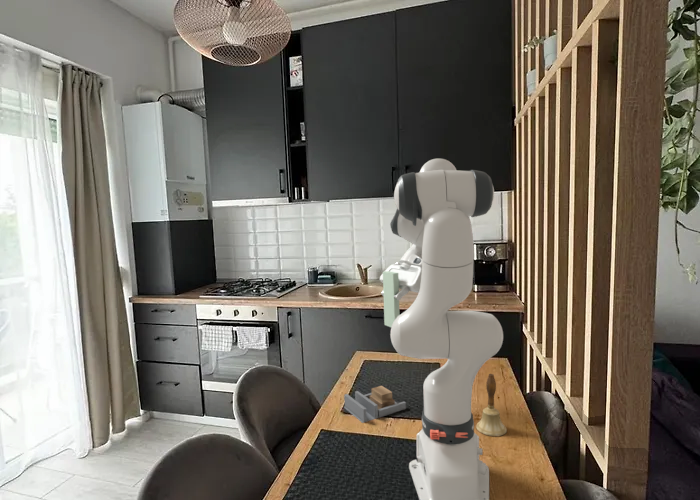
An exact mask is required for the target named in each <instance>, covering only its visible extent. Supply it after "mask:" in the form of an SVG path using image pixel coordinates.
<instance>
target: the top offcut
mask: <svg viewBox="0 0 700 500" xmlns="http://www.w3.org/2000/svg"><path fill="white" fill-rule="evenodd" d="M370 389H371V393H372V397H374V398H375V399H377V400H378V401H380V402H381V403H384V402H387V401H390V400H392V399H393V392H392V391H391V390H389V389H388V388H386V387H384V386H383V385H379V386H376V387H372V388H370Z"/></svg>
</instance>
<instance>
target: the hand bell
mask: <svg viewBox="0 0 700 500" xmlns="http://www.w3.org/2000/svg"><path fill="white" fill-rule="evenodd" d="M485 387H486V391H487V392H486V393H487V399H488V400H487V407H484V408H483V409H482V415H481V419H480V420H479V421H478V422H477V423H476V425H475V429H476V430H477V432H480V433H481V434H483V435H486V436H488V437H500V436H501V437H502V436H503V435H505V434H507V430H508V429H507V427H506V425H505V424H504V423H503V422H502V419H501V416H500V410H498V409H497V408H495V394H496V391H497V382H496V378H495V376H494V374H493V373H489V374H488V377H487V379H486V386H485Z"/></svg>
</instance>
